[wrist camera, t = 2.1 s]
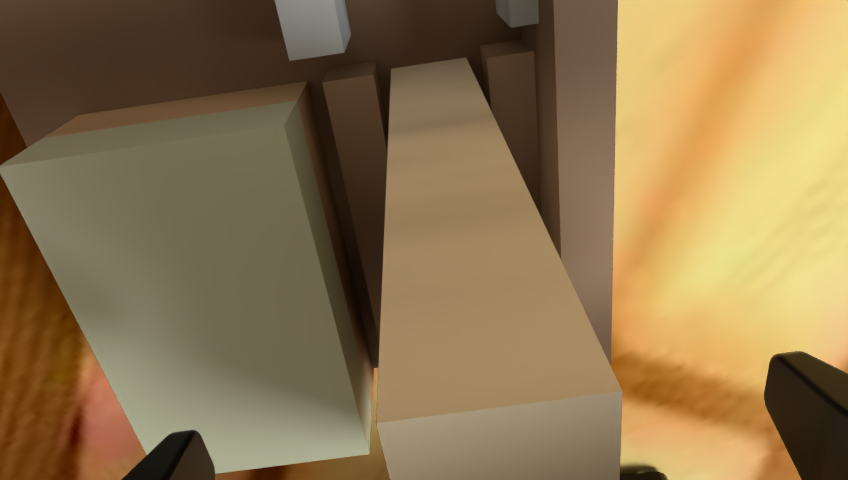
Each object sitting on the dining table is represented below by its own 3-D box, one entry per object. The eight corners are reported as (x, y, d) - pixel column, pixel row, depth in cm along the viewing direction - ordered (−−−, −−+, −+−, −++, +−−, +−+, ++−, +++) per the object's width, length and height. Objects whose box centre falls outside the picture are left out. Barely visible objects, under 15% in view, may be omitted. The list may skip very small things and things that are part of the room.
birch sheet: (495, 351, 16) (607, 854, 8) (438, 359, 16) (484, 867, 8) (466, 57, 13) (623, 392, 4) (391, 68, 13) (376, 422, 4)
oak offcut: (373, 368, 17) (371, 407, 15) (197, 391, 17) (180, 432, 15) (307, 81, 13) (297, 100, 11) (78, 114, 13) (42, 138, 12)
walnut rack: (566, 325, 17) (609, 430, 14) (163, 378, 18) (105, 494, 14) (542, -600, 9) (635, -929, 5) (-223, -460, 9) (-593, -681, 6)
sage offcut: (371, 407, 15) (369, 453, 14) (180, 432, 15) (160, 480, 14) (297, 100, 11) (283, 124, 10) (42, 138, 12) (-4, 167, 10)
